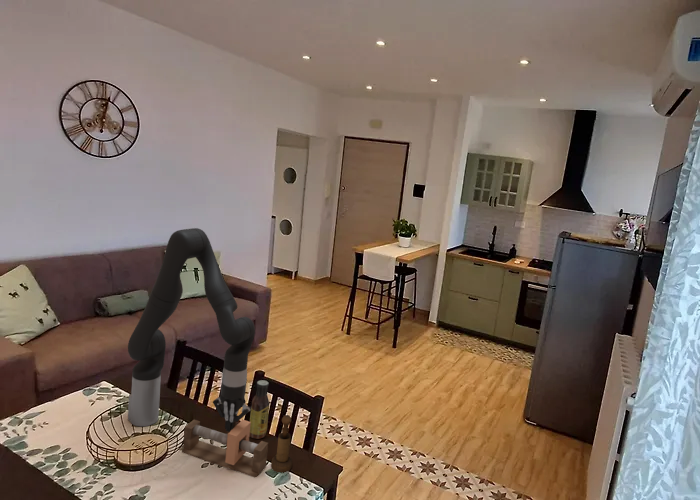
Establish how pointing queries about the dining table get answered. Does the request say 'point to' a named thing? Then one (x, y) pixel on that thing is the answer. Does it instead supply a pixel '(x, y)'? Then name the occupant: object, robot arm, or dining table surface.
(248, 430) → the collar
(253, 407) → the sauce bottle
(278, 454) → the wooden pepper mill
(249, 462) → the pipe stand
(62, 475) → the dining table surface
